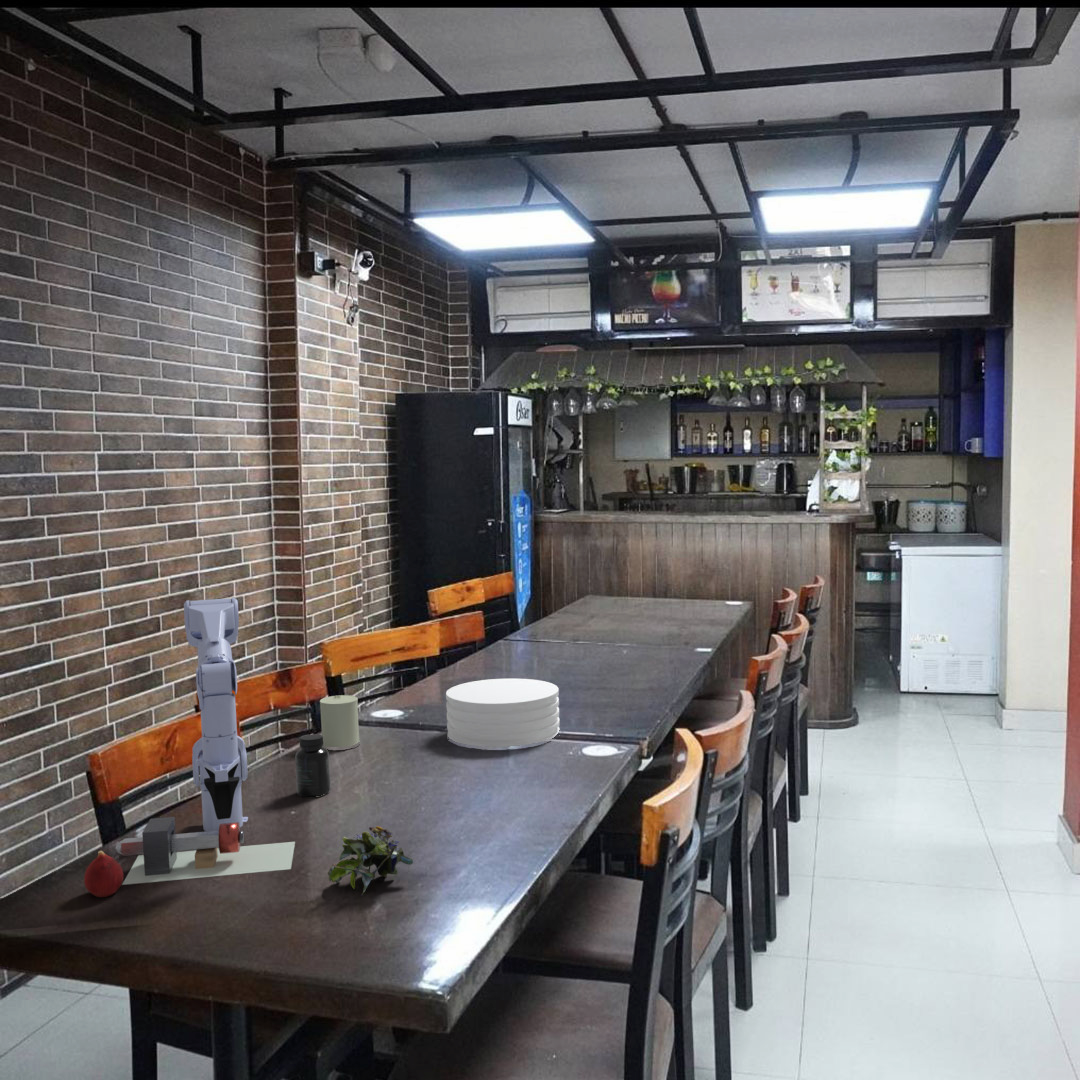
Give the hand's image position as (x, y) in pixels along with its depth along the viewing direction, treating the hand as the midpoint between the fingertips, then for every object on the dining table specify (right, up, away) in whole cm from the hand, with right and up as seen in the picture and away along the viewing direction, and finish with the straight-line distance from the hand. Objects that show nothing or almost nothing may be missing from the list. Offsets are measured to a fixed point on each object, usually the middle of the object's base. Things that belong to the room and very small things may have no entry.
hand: (223, 811), depth 180 cm
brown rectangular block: (-3, -9, +1) cm, 10 cm away
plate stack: (+45, -3, +83) cm, 94 cm away
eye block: (-11, -10, 0) cm, 14 cm away
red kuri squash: (-16, -12, -10) cm, 22 cm away
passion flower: (+26, -10, -8) cm, 29 cm away
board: (-2, -10, +2) cm, 11 cm away
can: (+5, -4, +77) cm, 78 cm away
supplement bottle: (+7, -7, +41) cm, 42 cm away
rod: (-7, -8, +1) cm, 11 cm away
